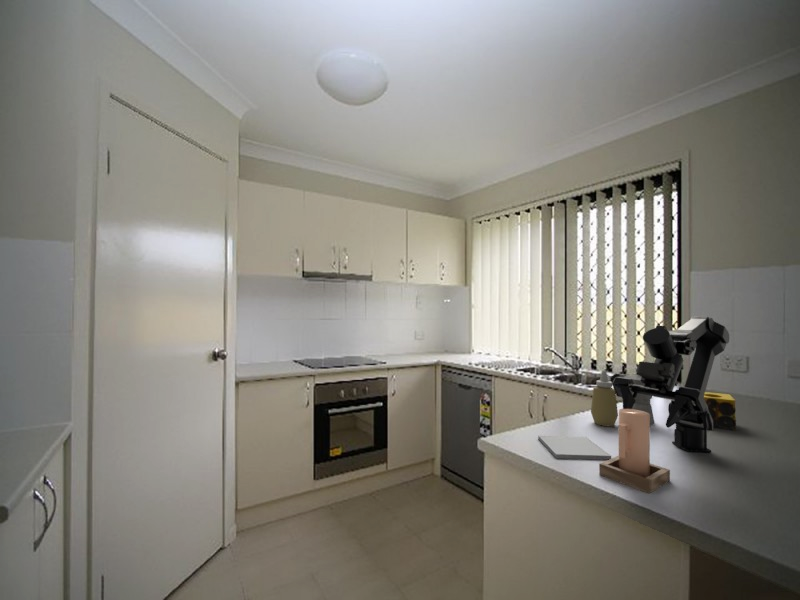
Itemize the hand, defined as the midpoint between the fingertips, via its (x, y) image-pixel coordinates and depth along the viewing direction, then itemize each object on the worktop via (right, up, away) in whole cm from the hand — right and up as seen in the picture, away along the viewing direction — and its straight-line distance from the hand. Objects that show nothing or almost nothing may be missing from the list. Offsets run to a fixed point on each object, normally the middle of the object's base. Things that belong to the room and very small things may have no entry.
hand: (644, 421), depth 88 cm
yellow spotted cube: (+48, -14, +37) cm, 62 cm away
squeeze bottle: (+10, -13, +36) cm, 40 cm away
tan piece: (-6, -12, -4) cm, 14 cm away
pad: (-11, -12, +14) cm, 22 cm away
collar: (-5, -12, -3) cm, 13 cm away
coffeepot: (+23, -13, +40) cm, 49 cm away
